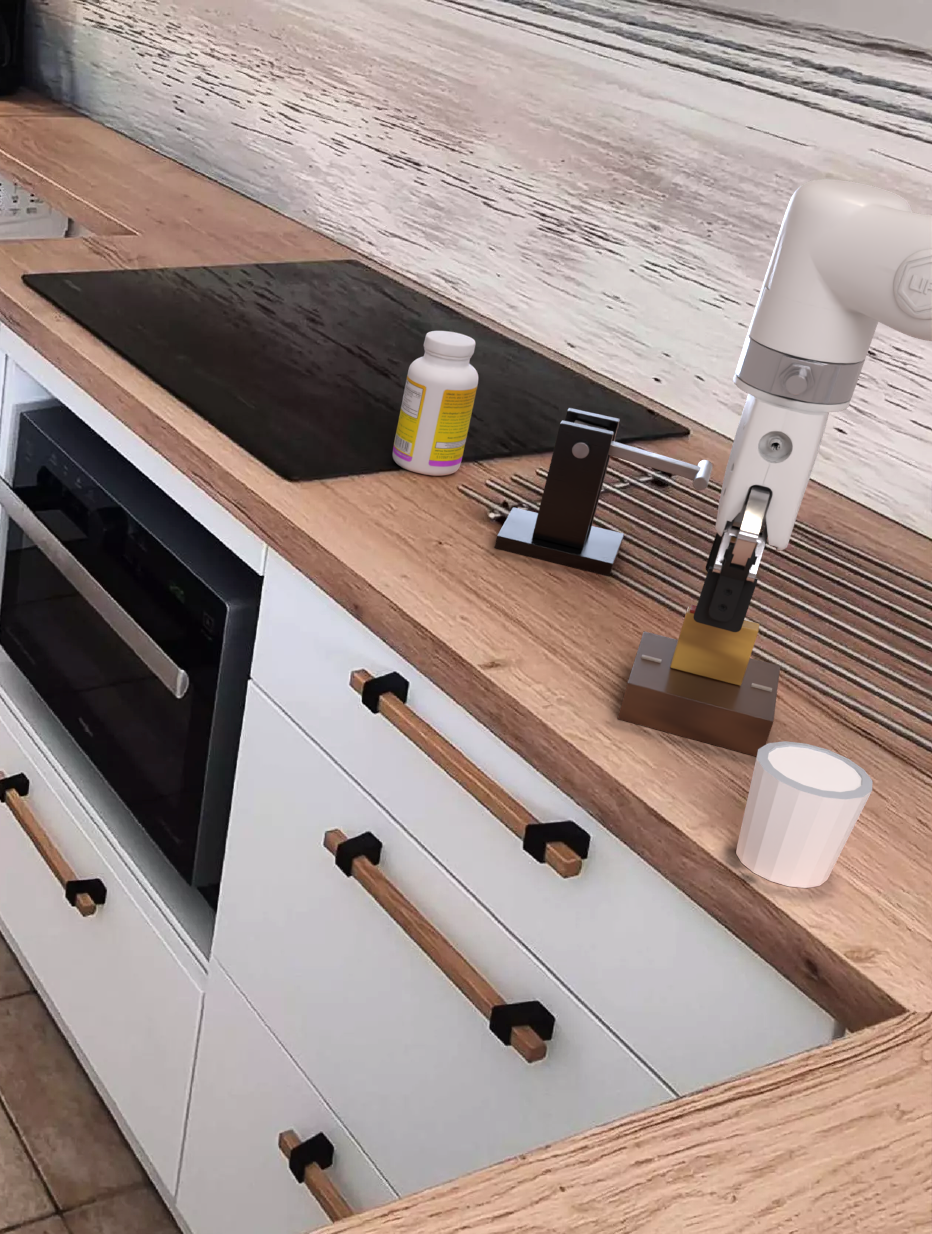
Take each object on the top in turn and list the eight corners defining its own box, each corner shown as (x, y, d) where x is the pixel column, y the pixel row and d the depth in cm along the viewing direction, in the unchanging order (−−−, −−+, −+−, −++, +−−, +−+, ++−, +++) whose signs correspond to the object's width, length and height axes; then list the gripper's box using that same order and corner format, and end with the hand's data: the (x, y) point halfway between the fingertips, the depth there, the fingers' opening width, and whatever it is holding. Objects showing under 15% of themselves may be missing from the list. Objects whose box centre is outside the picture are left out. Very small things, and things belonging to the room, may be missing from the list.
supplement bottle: (467, 464, 171) (495, 338, 165) (448, 483, 166) (476, 353, 160) (402, 448, 174) (427, 322, 168) (381, 466, 168) (407, 337, 162)
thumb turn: (742, 678, 127) (760, 620, 124) (740, 686, 125) (759, 627, 123) (671, 660, 128) (689, 602, 126) (669, 667, 127) (687, 609, 125)
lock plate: (768, 700, 131) (781, 663, 129) (761, 758, 122) (774, 719, 121) (633, 665, 134) (644, 628, 132) (617, 719, 126) (628, 680, 124)
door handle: (707, 481, 149) (717, 455, 148) (702, 499, 145) (712, 472, 144) (569, 440, 153) (577, 415, 151) (560, 457, 148) (569, 431, 147)
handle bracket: (621, 545, 156) (655, 421, 151) (609, 576, 149) (644, 447, 144) (510, 519, 159) (539, 396, 154) (494, 548, 152) (524, 420, 147)
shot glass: (801, 831, 114) (833, 739, 111) (860, 893, 108) (897, 797, 105) (705, 832, 112) (736, 739, 109) (760, 894, 106) (794, 797, 103)
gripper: (854, 421, 108) (769, 662, 116) (857, 353, 122) (781, 572, 130) (729, 393, 110) (654, 631, 118) (747, 329, 125) (679, 545, 133)
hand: (721, 600), depth 124 cm, fingers open, 9 cm apart
